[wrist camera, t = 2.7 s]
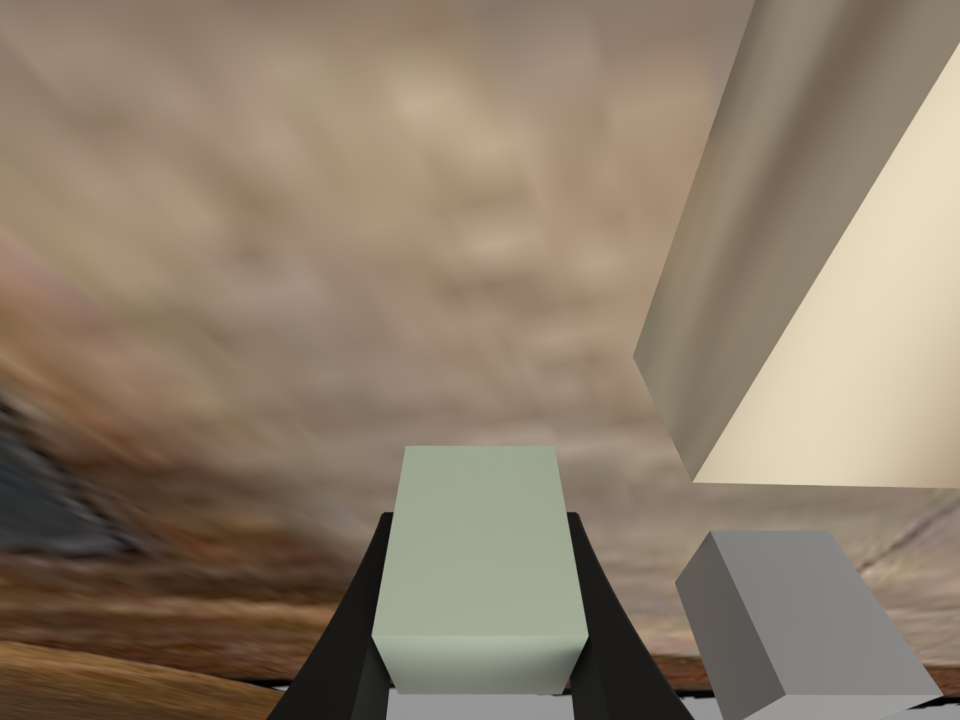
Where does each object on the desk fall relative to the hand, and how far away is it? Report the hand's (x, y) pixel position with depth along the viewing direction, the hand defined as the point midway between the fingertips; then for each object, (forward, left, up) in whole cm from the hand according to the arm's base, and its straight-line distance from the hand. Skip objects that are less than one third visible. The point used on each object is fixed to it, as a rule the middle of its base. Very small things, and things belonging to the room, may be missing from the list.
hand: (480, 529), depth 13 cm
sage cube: (0, 0, -1) cm, 1 cm away
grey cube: (+11, -5, -2) cm, 12 cm away
